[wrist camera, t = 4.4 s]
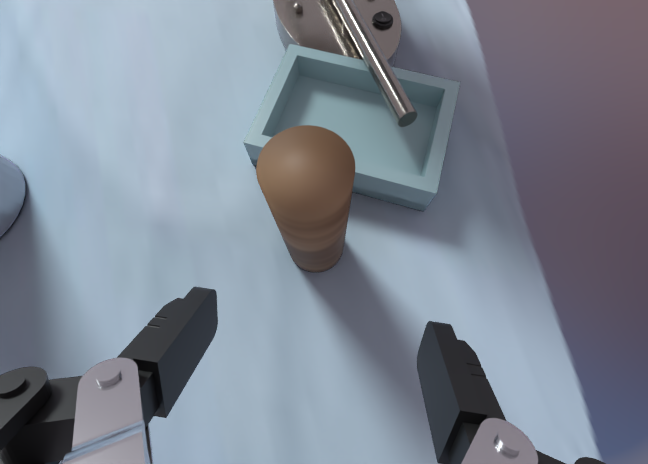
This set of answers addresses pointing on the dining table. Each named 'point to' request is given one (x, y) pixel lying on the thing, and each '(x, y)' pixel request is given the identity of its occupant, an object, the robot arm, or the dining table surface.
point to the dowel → (308, 192)
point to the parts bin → (362, 121)
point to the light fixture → (351, 39)
